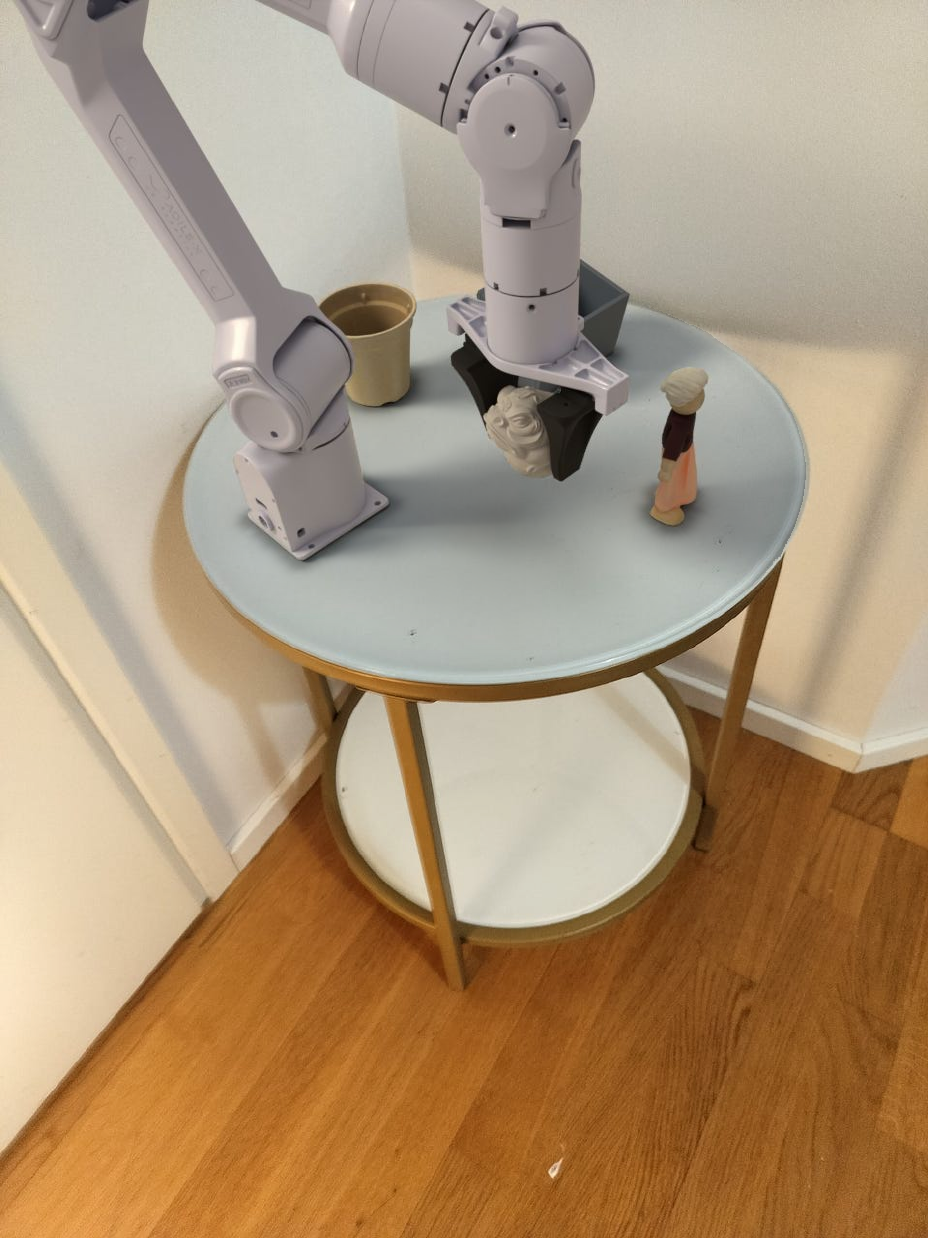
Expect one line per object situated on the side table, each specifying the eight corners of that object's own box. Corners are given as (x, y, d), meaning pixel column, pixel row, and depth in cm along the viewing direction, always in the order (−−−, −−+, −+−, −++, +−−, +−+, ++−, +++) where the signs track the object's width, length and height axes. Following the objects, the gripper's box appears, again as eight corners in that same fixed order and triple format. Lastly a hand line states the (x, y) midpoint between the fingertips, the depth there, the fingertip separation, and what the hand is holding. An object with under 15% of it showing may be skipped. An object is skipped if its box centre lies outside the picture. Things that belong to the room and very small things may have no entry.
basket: (536, 403, 81) (548, 344, 75) (452, 335, 85) (457, 274, 79) (613, 352, 86) (630, 293, 80) (530, 290, 90) (540, 230, 84)
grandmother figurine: (695, 535, 68) (719, 401, 59) (646, 533, 69) (661, 399, 60) (694, 472, 73) (716, 339, 64) (648, 470, 74) (663, 338, 64)
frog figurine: (474, 459, 65) (468, 379, 59) (560, 434, 66) (561, 353, 60) (505, 510, 61) (501, 429, 55) (596, 481, 62) (600, 399, 57)
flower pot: (424, 415, 81) (413, 333, 75) (325, 420, 82) (306, 339, 76) (428, 359, 88) (419, 278, 81) (337, 364, 88) (320, 284, 82)
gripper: (670, 286, 50) (649, 470, 60) (495, 213, 57) (503, 388, 67) (586, 337, 47) (579, 522, 57) (414, 254, 54) (435, 430, 65)
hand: (534, 453), depth 62 cm, fingers closed on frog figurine, 6 cm apart
